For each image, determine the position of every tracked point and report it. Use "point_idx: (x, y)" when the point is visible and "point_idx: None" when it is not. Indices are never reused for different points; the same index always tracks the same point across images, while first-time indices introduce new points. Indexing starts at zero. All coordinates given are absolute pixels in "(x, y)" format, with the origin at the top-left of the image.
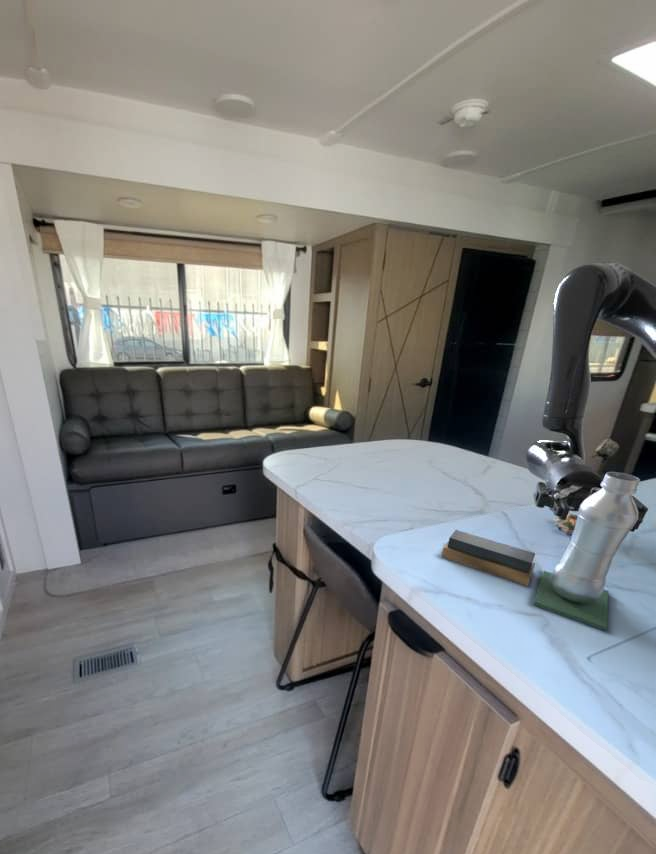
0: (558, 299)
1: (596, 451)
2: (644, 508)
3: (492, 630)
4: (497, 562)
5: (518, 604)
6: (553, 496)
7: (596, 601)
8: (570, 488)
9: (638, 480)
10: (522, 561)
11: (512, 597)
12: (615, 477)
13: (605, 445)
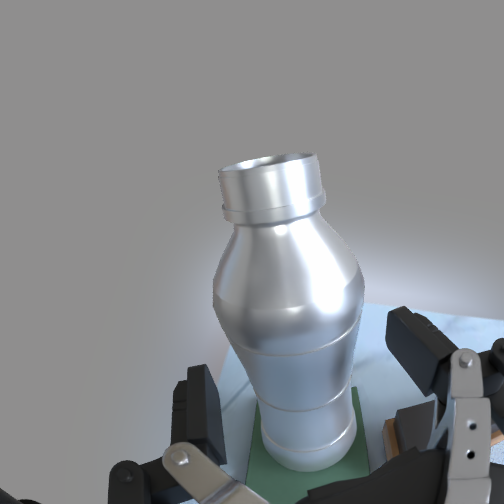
0: None
1: None
2: (124, 469)
3: (372, 318)
4: None
5: (373, 376)
6: (475, 355)
7: (267, 455)
8: (478, 454)
9: (225, 167)
10: (413, 406)
11: (386, 385)
12: (285, 184)
13: None
